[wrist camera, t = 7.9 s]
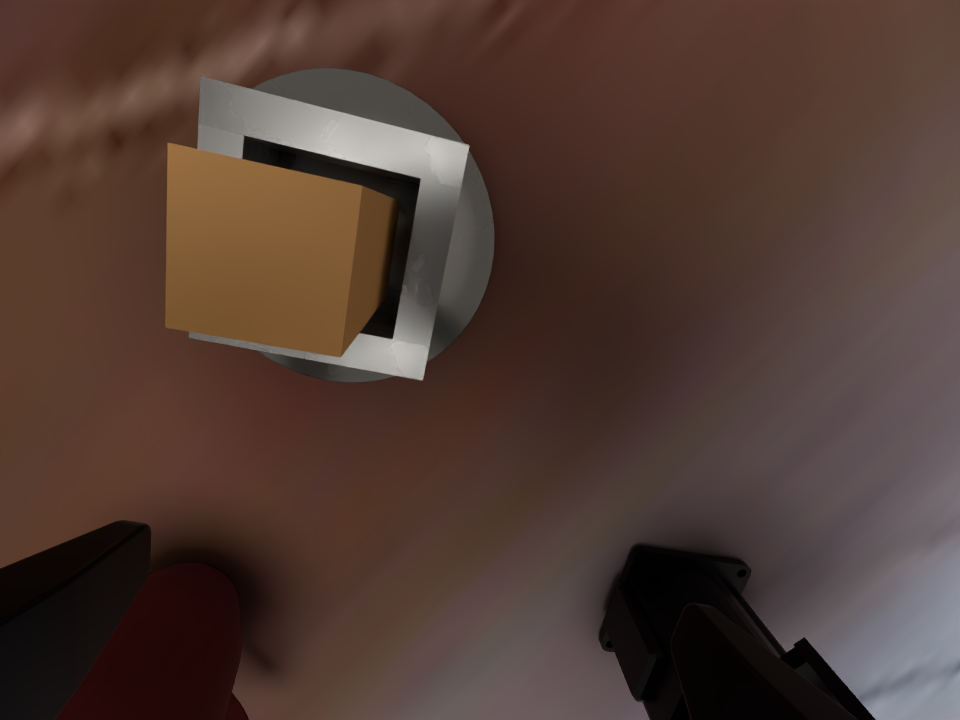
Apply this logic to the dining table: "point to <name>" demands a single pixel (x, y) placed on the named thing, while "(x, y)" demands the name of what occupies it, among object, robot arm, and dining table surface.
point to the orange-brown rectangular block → (273, 252)
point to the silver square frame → (383, 168)
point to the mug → (169, 653)
